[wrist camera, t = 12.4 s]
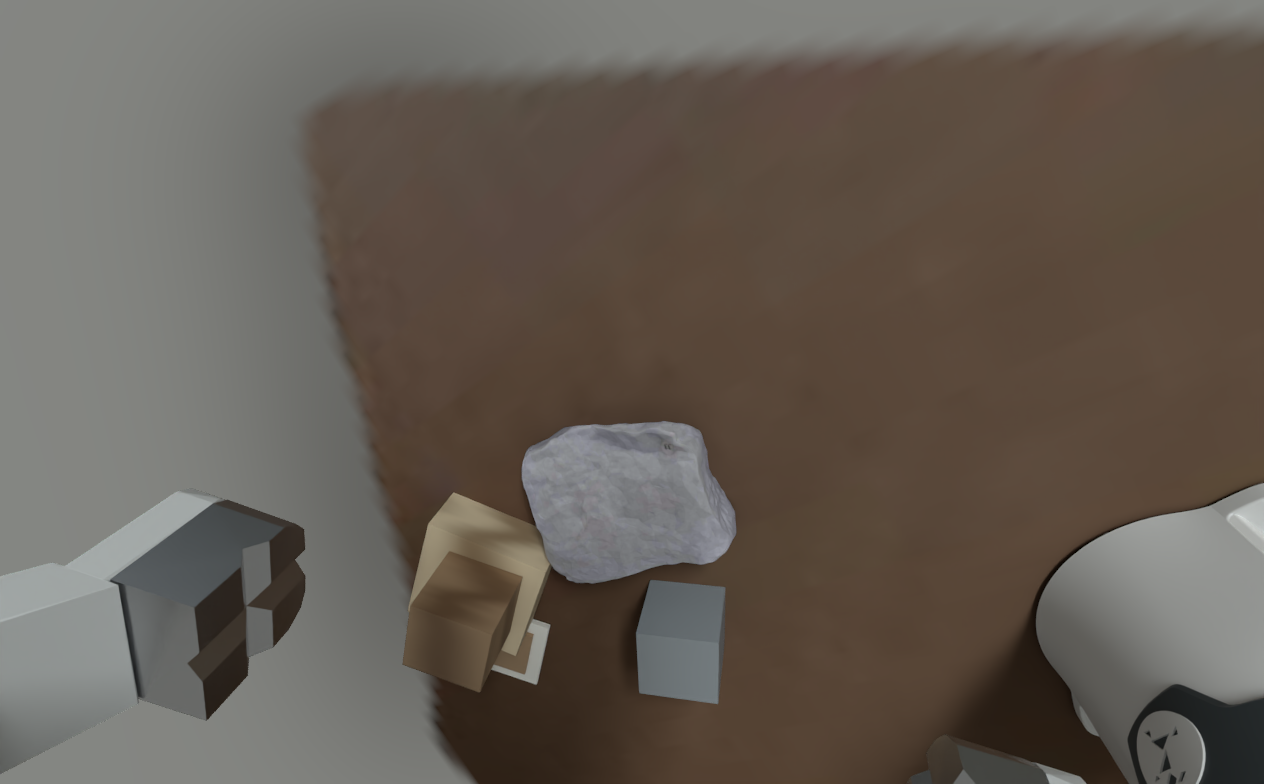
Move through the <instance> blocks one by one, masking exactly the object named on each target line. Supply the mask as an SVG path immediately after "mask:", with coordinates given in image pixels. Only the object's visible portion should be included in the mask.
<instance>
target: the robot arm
mask: <svg viewBox="0 0 1264 784" xmlns="http://www.w3.org/2000/svg"><path fill="white" fill-rule="evenodd" d="M304 550H305V537H304V529H303V528H301V527H300V526H298V525H296V524H294V523H292V522H289V521H286V520H283V519H280V518H277V517H275V516H272V515H269V514H266V513H263V512H260V511H258V510H255V509H252V508H249V507H246V506H244V505H241V504H238V503H235V502H232V501H230V500H225V499H222V498H219V497H216V496H213V495H210V494H208V493H205V492H202V491H199V490H196V489H194V488H190V489H186V490H181V491H177V492H175V493H174V494H172V495H171V496H169V497H168V498H166V499H165V500H163V501H162V502H161V503H159V504H157V505H156V506H154V507H153V508H151V509H150V510H148V511H147V512H145V513H144V514H142V515H141V516H139V517H138V518H136V519H135V520H133V521H132V522H130V523H129V524H127V525H126V526H124V527H123V528H121V529H120V530H118V531H117V532H115V533H114V534H113V535H111V536H109V537H108V538H106V539H105V540H103V541H102V542H100V543H99V544H97V545H96V546H94V547H93V548H92V549H90V550H88V551H87V552H85V553H84V554H82V555H81V556H79V557H78V558H76V559H75V560H73V561H72V562H70V563H69V564H67V565H66V566H63V565H60V564H56V563H49V564H45V565H42V566H38V567H34V568H30V569H27V570H23V571H19V572H15V573H11V574H7V575H4V576H0V774H1V773H3V772H5V771H7V770H9V769H11V768H13V767H15V766H17V765H19V764H21V763H23V762H25V761H27V760H29V759H31V758H33V757H34V756H36V755H39V754H41V753H43V752H45V751H46V750H48V749H50V748H52V747H54V746H56V745H58V744H60V743H62V742H64V741H66V740H68V739H70V738H72V737H74V736H76V735H78V734H80V733H82V732H84V731H86V730H88V729H90V728H91V727H94V726H96V725H97V724H100V723H102V722H103V721H106V720H108V719H109V718H111V717H113V716H115V715H117V714H119V713H121V712H123V711H125V710H127V709H129V708H131V707H133V706H135V705H137V704H138V703H139V700H138V699H140V700H144V701H147V702H150V703H153V704H156V705H159V706H162V707H165V708H169V709H172V710H175V711H178V712H181V713H184V714H187V715H191V716H193V717H196V718H199V719H203V720H207V719H209V718H210V716H211V715H212V714H213V713H214V712H215V711H216V710H217V709H218V708H219V707H220V705H221V704H222V703H223V702H224V701H225V700H226V699H227V698H228V697H229V696H230V694H231V693H232V692H233V691H234V690H235V689H236V688H237V687H238V686H239V685H240V683H241V682H242V681H243V680H244V679H245V678H246V677H247V676H248V666H249V657H251V656H253V655H256V654H258V653H261V652H263V651H266V650H268V649H270V648H273V647H274V646H275V645H276V644H277V642H278V641H279V640H280V639H281V637H283V635H284V634H285V633H286V632H287V631H288V630H289V628H290V626H291V624H292V623H293V621H294V619H295V617H296V615H297V613H298V612H299V610H300V608H301V605H302V601H303V597H304V593H305V575H304V573H303V571H302V570H301V568H300V567H299V565H298V564H297V562H296V561H295V559H296V558H297V557H298V556H299V555H300V554H301V553H302V552H303V551H304ZM1036 631H1037V637H1038V641H1039V644H1040V647H1041V649H1042V651H1043V653H1044V655H1045V657H1046V658H1047V660H1048V662H1049V663H1050V664H1051V665H1052V667H1053V668H1054V669H1055V670H1056V671H1057V673H1058V674H1059V675H1060V676H1061V678H1062V679H1063V680H1064V682H1065V683H1066V684H1067V686H1068V687H1069V688H1070V690H1071V693H1072V699H1073V705H1074V708H1075V711H1076V714H1077V716H1078V717H1079V719H1080V721H1081V722H1082V724H1083V725H1084V727H1085V729H1086V730H1087V731H1088V732H1090V733H1091V734H1093V735H1096V736H1099V737H1100V738H1101V740H1102V741H1103V743H1104V745H1105V746H1106V748H1107V749H1108V751H1109V753H1110V754H1111V756H1112V757H1113V759H1114V761H1115V762H1116V764H1117V765H1118V767H1119V769H1120V770H1121V772H1122V773H1123V775H1124V777H1125V778H1126V780H1127V781H1128V783H1129V784H1264V483H1262V484H1258V485H1255V486H1252V487H1249V488H1247V489H1245V490H1242V491H1240V492H1238V493H1235V494H1233V495H1231V496H1229V497H1227V498H1225V499H1223V500H1221V501H1219V502H1217V503H1215V504H1213V505H1211V506H1207V507H1204V508H1200V509H1196V510H1191V511H1185V512H1179V513H1173V514H1167V515H1161V516H1156V517H1152V518H1148V519H1144V520H1140V521H1137V522H1134V523H1131V524H1128V525H1126V526H1123V527H1120V528H1118V529H1115V530H1113V531H1111V532H1109V533H1107V534H1105V535H1103V536H1101V537H1099V538H1097V539H1095V540H1094V541H1092V542H1090V543H1089V544H1087V545H1086V546H1084V547H1083V548H1081V549H1080V550H1079V551H1078V552H1076V553H1075V554H1074V555H1072V556H1071V557H1070V558H1069V559H1068V560H1067V561H1066V562H1065V563H1064V564H1063V565H1062V566H1061V567H1060V568H1059V569H1058V570H1057V572H1056V573H1055V574H1054V575H1053V577H1052V578H1051V579H1050V581H1049V582H1048V584H1047V586H1046V587H1045V589H1044V591H1043V593H1042V596H1041V598H1040V601H1039V605H1038V608H1037V614H1036ZM926 755H927V760H928V764H929V769H930V770H927V771H925V772H922V773H919V774H917V775H914V776H911V777H910V779H909V781H908V782H907V784H1086V783H1085V782H1084V780H1083V779H1082V778H1081V777H1079V776H1076V775H1073V774H1070V773H1067V772H1063V771H1060V770H1057V769H1054V768H1051V767H1048V766H1044V765H1041V764H1038V763H1035V762H1030V761H1028V760H1026V759H1023V758H1019V757H1016V756H1013V755H1010V754H1007V753H1004V752H1000V751H997V750H994V749H991V748H988V747H984V746H981V745H978V744H975V743H972V742H968V741H965V740H962V739H959V738H956V737H952V736H949V735H946V734H945V735H943V736H941V737H939V738H937V739H936V740H935V741H934V742H933V744H932V745H931V747H930V748H929V750H928V751H927V753H926Z"/></svg>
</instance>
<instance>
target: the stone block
mask: <svg viewBox="0 0 1264 784" xmlns="http://www.w3.org/2000/svg"><path fill="white" fill-rule="evenodd" d="M522 481H523V484H524V489H525V491H526V494H527V496H528V500H529V503H530V507H531V511H532V514H533V517H534V520H535V522H536V526H537V529H538V530H539V531H540V533H541V535H542V538H543V543H544V548H545V552H546V556H547V558H548V561H549V562H550V564H551V565H552V567H553V568H554V570H556V571H557V572H558V573H560V574H562V575H564V576H566V578H567V579H568V580H569V581H574V582H576V583H591V584H593V583H599V582H605V581H609V580H612V579H619V578H622V577H625V576H629V575H633V574H636V573H639V572H641V571H644V570H646V569H649V568H653V567H656V566H660V565H665V564H670V565H672V564H678V563H682V562H686V563H693V564H699V565H701V564H707V563H710V562H714V561H715V560H717V559H718V558H719V557H720V556H722V555H723V554H724V553H725V552H726V551H727V550H728V548H729V546H730V544H731V542H732V540H733V538H734V537H735V536H736V521H735V511H734V509H733V507H732V505H731V503H730V501H729V500H728V499H727V498H726V495H725V493H724V491H723V490H722V489H721V487H720V485H719V483H718V482H717V480H716V479H715V478H714V477H713V476H712V474H711V472H710V469H709V466H708V458H707V450H706V447H705V444H704V442H703V436H702V434H701V432H700V431H699V430H698V429H695V428H694V427H692V426H689V425H687V424H682V423H673V422H666V421H662V422H652V423H638V424H627V423H624V424H615V425H597V424H594V425H580V426H574V427H573V426H572V427H564V428H563V429H561V430H560V431H558V432H557V433H555V434H554V435H553V436H551V437H550V438H549V439H546V440H544V441H542V442H539V443H537V444H536V445H534V446H531V447H529V448H528V450H527V451H526V453H525V457H524V460H523V465H522Z"/></svg>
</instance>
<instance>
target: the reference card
mask: <svg viewBox="0 0 1264 784" xmlns="http://www.w3.org/2000/svg"><path fill="white" fill-rule="evenodd" d="M549 630H550V624H547V623H544V622H541V621H538V620H535V619H533V620H532V622H531V624H530V626H529V629H528V631H527V633H526V635H525V637H524V639H523V641H522V644H521V646H520V648H519V650H518V652H517V654H516V656H514V655H512V654H509V653H507V652H505V651H502V650H501V651H500V653H499V655H498V657H497V659H496V661H495V663H494V665H493V667H492V669H491V670H494V671H497V672H500V673H503V674H506V675H509V676H512V677H515V678H518V679H521V680H524V681H527V682H530V683H533V684H536V685H537V682H538V679H539V675H540V670H541V666H542V661H543V657H544V652H545V648H546V643H547V639H548V634H549Z"/></svg>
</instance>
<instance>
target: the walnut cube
mask: <svg viewBox="0 0 1264 784" xmlns="http://www.w3.org/2000/svg"><path fill="white" fill-rule="evenodd" d="M522 578H523V577H522V576H519V575H516V574H514V573H511V572H508V571H505V570H502V569H499V568H496V567H494V566H491V565H488V564H485V563H482V562H479V561H476V560H474V559H471V558H468V557H465V556H462V555H459V554H456V553H454V552H451V551H449V552H448V553H447V555H446V556H445V558H444V559H443V560H442V562H441V563H440V565H439V566H438V567H437V569H436V570H435V572H434V573H433V574H432V576H431V577H430V579H429V580H428V581H427V583H426V584H425V586H424V587H423V588H422V590H421V591H420V593H419V594H418V595H417V597H416V598H415V600H414V601H413V602H412V604H411V605H410V611H409V619H408V627H407V635H406V642H405V650H404V657H403V665H405V666H408V667H411V668H413V669H416V670H419V671H421V672H424V673H427V674H430V675H432V676H435V677H438V678H441V679H443V680H446V681H449V682H452V683H454V684H457V685H460V686H463V687H465V688H468V689H471V690H474V691H476V692H479V693H480V691H481V689H482V687H483V685H484V683H485V681H486V679H487V677H488V675H489V673H490V671H491V669H492V667H493V665H494V663H495V661H496V659H497V657H498V655H499V653H500V651H501V649H502V647H503V645H504V643H505V641H506V639H507V637H508V635H509V633H510V630H511V626H512V621H513V617H514V613H515V608H516V604H517V600H518V595H519V591H520V587H521V582H522Z"/></svg>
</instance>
